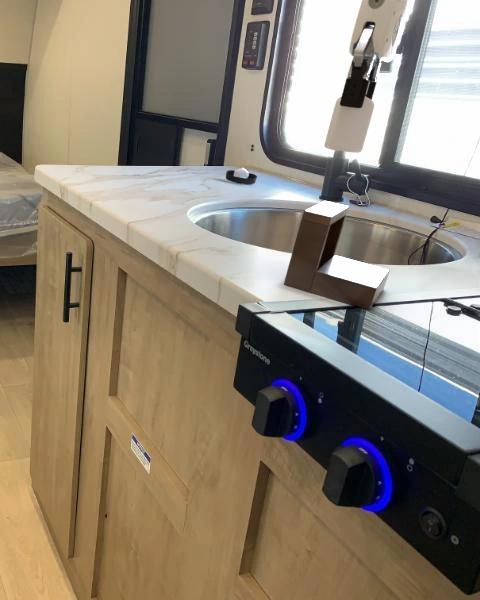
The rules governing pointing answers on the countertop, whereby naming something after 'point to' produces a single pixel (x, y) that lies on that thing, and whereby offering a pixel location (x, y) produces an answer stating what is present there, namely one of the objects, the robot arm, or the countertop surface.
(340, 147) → the eye dropper bottle
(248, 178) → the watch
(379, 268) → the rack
